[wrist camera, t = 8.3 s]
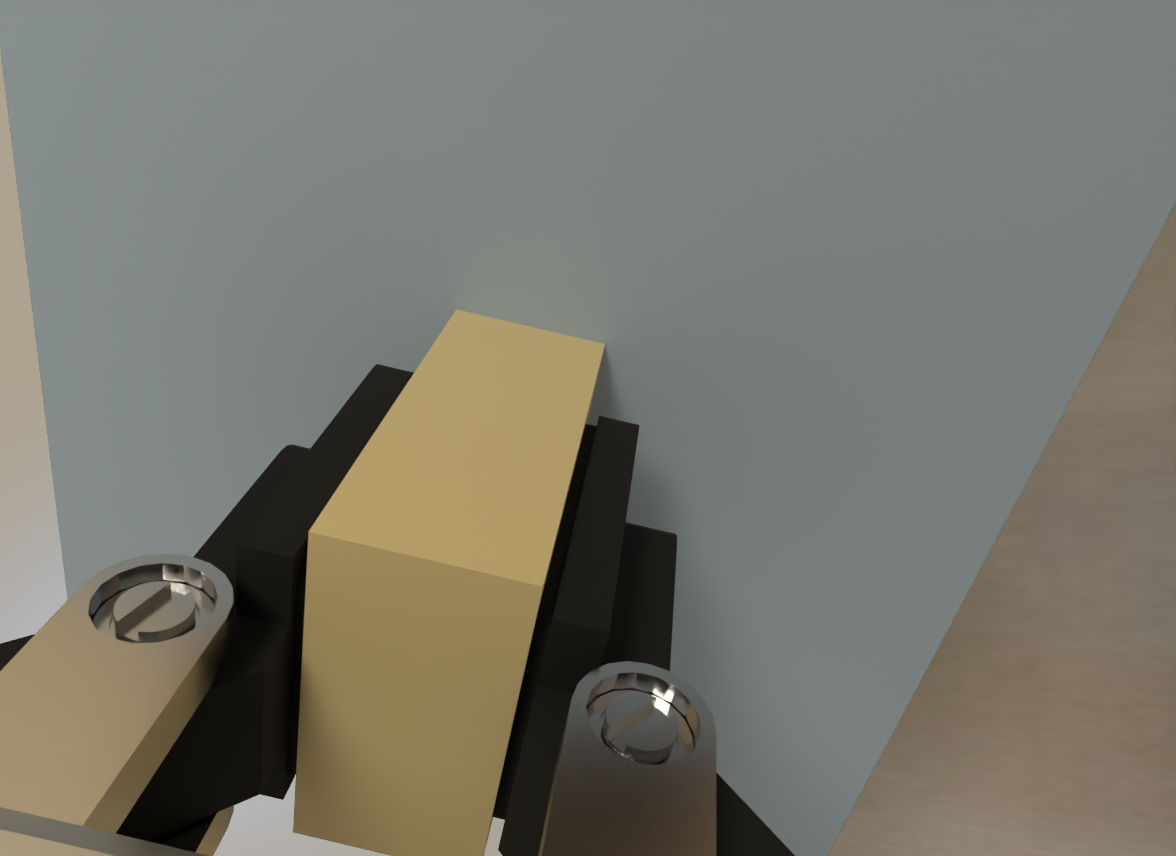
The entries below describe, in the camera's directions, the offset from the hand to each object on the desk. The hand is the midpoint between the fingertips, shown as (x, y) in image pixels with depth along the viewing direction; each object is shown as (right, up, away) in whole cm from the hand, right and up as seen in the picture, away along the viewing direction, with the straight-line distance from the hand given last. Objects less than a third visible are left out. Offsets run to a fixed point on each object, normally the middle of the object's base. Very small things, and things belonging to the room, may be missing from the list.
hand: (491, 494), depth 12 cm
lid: (0, +1, +2) cm, 2 cm away
